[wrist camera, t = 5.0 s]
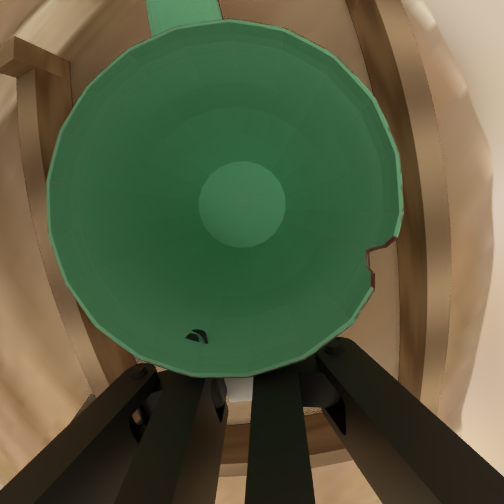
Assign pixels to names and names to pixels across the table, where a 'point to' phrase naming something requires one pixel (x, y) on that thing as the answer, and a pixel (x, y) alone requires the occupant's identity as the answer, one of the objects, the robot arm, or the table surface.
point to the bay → (408, 242)
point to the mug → (222, 194)
